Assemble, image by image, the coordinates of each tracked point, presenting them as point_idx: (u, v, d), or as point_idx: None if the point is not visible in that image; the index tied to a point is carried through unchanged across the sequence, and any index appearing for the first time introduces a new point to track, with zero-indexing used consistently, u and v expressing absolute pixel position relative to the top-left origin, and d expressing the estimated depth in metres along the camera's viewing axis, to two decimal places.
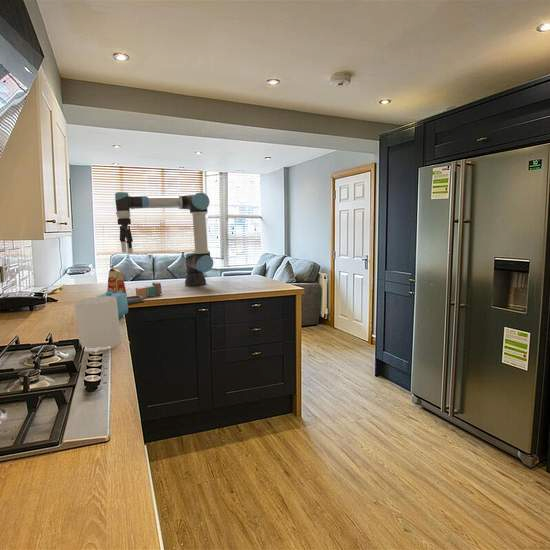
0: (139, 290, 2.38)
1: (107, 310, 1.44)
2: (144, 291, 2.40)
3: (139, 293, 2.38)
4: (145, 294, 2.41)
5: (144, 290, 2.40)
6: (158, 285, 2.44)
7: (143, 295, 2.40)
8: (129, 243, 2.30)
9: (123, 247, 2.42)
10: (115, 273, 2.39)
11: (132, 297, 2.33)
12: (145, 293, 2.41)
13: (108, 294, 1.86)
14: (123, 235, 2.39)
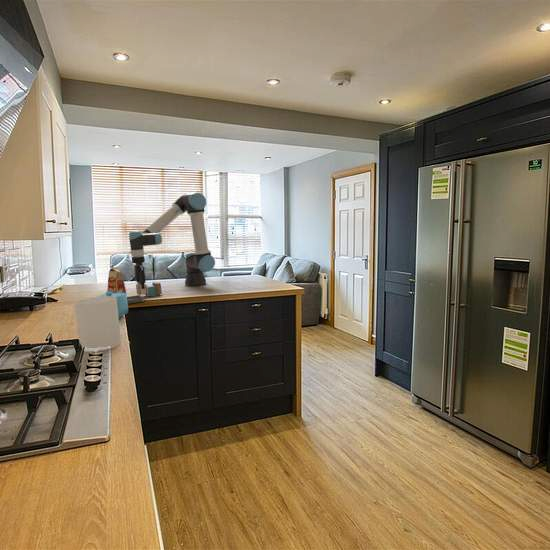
0: (139, 287, 2.38)
1: (107, 310, 1.44)
2: None
3: (139, 290, 2.38)
4: (145, 291, 2.41)
5: None
6: (158, 285, 2.44)
7: None
8: (142, 284, 2.37)
9: None
10: (115, 273, 2.39)
11: (132, 297, 2.33)
12: (145, 290, 2.40)
13: (108, 294, 1.86)
14: (138, 274, 2.41)
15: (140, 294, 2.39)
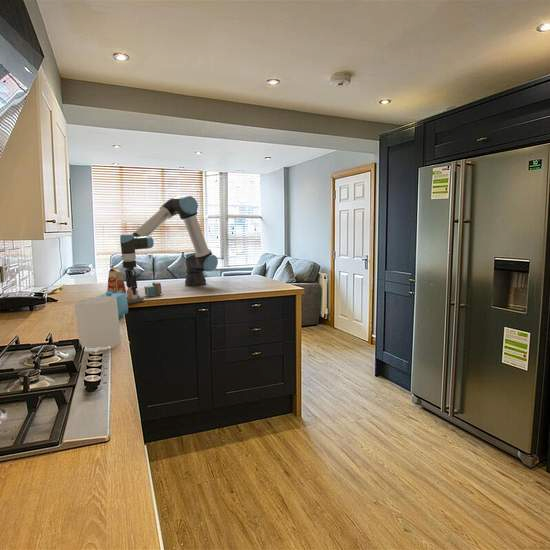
0: (130, 293, 2.25)
1: (107, 310, 1.44)
2: None
3: (130, 296, 2.26)
4: (137, 297, 2.28)
5: None
6: (158, 285, 2.44)
7: None
8: (133, 290, 2.24)
9: None
10: (115, 273, 2.39)
11: None
12: (137, 296, 2.28)
13: (108, 294, 1.86)
14: (129, 279, 2.29)
15: None
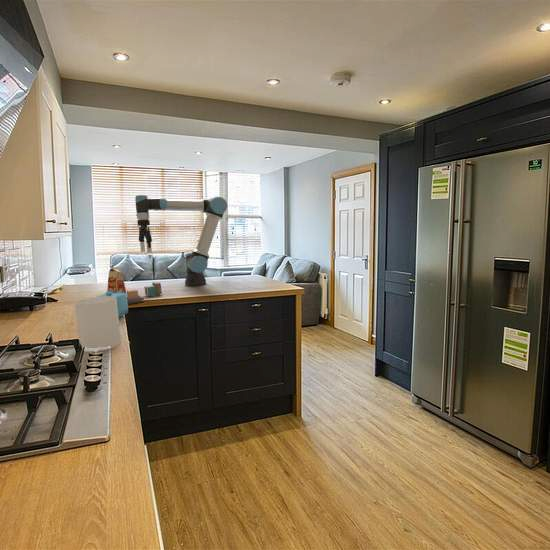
0: (130, 293, 2.25)
1: (107, 310, 1.44)
2: (135, 294, 2.27)
3: (130, 296, 2.26)
4: (137, 297, 2.28)
5: (135, 293, 2.27)
6: (158, 285, 2.44)
7: (134, 298, 2.27)
8: (148, 243, 2.45)
9: (142, 247, 2.57)
10: (115, 273, 2.39)
11: None
12: (137, 296, 2.28)
13: (108, 294, 1.86)
14: (142, 235, 2.54)
15: None
